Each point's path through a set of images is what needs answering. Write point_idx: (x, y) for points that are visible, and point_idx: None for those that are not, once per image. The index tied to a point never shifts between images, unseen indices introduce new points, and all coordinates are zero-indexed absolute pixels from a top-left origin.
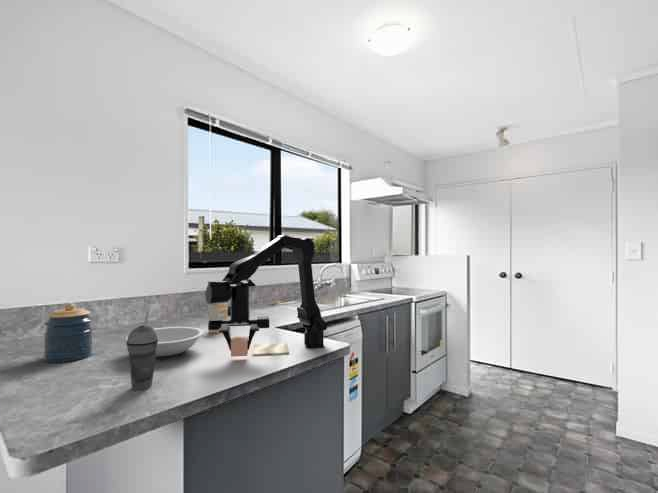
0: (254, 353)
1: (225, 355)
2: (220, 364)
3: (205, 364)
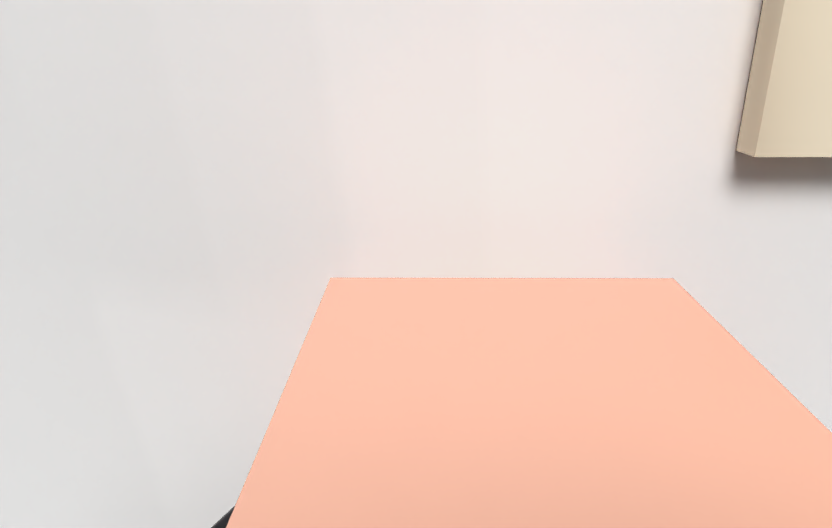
0: (793, 128)
1: (183, 33)
2: (223, 504)
3: (6, 474)
